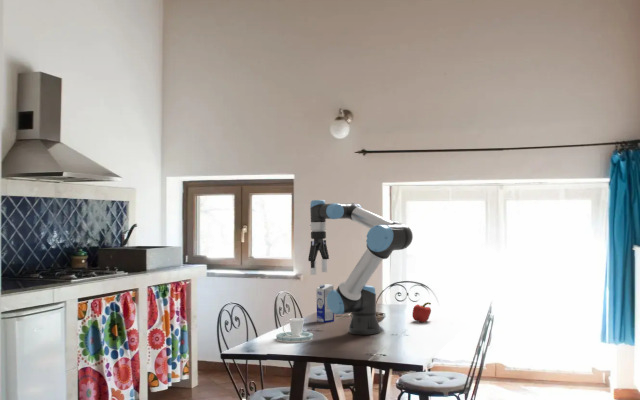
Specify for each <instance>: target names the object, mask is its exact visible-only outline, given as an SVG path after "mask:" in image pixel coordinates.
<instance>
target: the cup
mask: <svg viewBox="0 0 640 400" xmlns="http://www.w3.org/2000/svg"><path fill="white" fill-rule="evenodd" d="M304 321H305V319H304V318H302V317H301V318H299V317H295V318H289V319H288V320H287V321H285V322H284V323H283V326H282V331H283V333H284V332H285V333H286V332H287V331H286V330H285V329H284V326H285V325H286V323H288V324H289V327H290V328H289V329H290V332H291V333H292V334H293V336H291V335H289V334H287V333H286V334H287V335H289V336H291V337H301V335H300V334H302V332H303V329H304Z"/></svg>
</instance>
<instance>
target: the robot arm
mask: <svg viewBox="0 0 640 400" xmlns="http://www.w3.org/2000/svg"><path fill="white" fill-rule="evenodd" d="M309 207H310V225H309V226H310V231H311V232H310V238H311V241H310V247H309V254H308V262H310V276H316V275H317V261H316V259H317V256H318V253H320V256H321V273H328V260H329V259H330V255H329V251H328V247H327V232H326V230H327V223H326V221H327V220H337V219H339V220H340V219H342V220H344V219H345V220H347V219H348V220H351V221H353V222H355V223H358V224H359V225H362V226H363V227H366V228H368V229H369V230H368V232H367V234H366V249H365V251H364V253H363V254H362V256H361V257H360V259H358V262H357V263H356V265H355V266H354V268H353V269H352V271H351V272H350V274H349V275H348V277H347V278H346V279H345V280H344V281H342V282H340V283H339V285H338V286H337V288H336V289H333V290H332V291H330V292H329V293H328V295H327V304H328V307H329V309H330V311H331V312H332V313H334V315H341V316H342V315H345V314H350V313H351V316H352V317H351V320H350V322H349V323H350V324H349V327H348V331H349V333H350V334H353V335H363V336H364V335H366V336H367V335H376V334H379V333H380V332H381V328H380V325H379V321H378V318H377V301H376V300H377V292H376V288H375V286H373V285H367V284H368V282H369V280H370V279H371V277H372V276H373V274H374V273H375V272H376V270H377V269H378V267H379V266H380V264H381V262H383V260H387V259H388V258H389V257H390V256H391V254H392V253H393V251H399V250H402V251H403V250H404V249H407V248H408V247H409V246H410V245H411V243H412V241H413V238H414V237H413V232H412V231H413V230H411V227H409V226H408V225H406V224H404V223H402V222H399V221H396V220H395V221H393V220H390V219H387V218H386V217H383V216H381V215H379V214H376V213H373V212H371V211H369V210H367V209H365V208H363V207H362V206H361V205H360V204H359V203H355V202H354V203H353V202H352V203H334V202H332V203H326V200H325V199H319V200H318V199H317V200H315V199H314V200H311V201H310V206H309Z"/></svg>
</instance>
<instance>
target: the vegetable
mask: <svg viewBox="0 0 640 400" xmlns="http://www.w3.org/2000/svg"><path fill="white" fill-rule="evenodd" d="M431 304H432V303H431V302H425V303H424V304H423V305H420V304H415V306H413V308H412V315H411V316H412V319H413V320H414V321H415V322H417V321H418V322H420V323H425V322H427V321H428V320H429V318H430V315H431V313H432V310H431V307H429V306H430V305H431ZM427 305H429V306H427Z"/></svg>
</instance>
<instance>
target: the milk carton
mask: <svg viewBox="0 0 640 400" xmlns="http://www.w3.org/2000/svg"><path fill="white" fill-rule="evenodd" d="M315 289H316V295H315V296H316V322H320V323H323V324H325V323H326V324H327V323H333V322H335V314H334V313H332V312H331V311H330V309H329V307H328V304H327V295H328V293H329V292H330V291H332V290H334V285H333V284H330V283H325V284H320V285H319V286H318V287H316V288H315Z"/></svg>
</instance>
